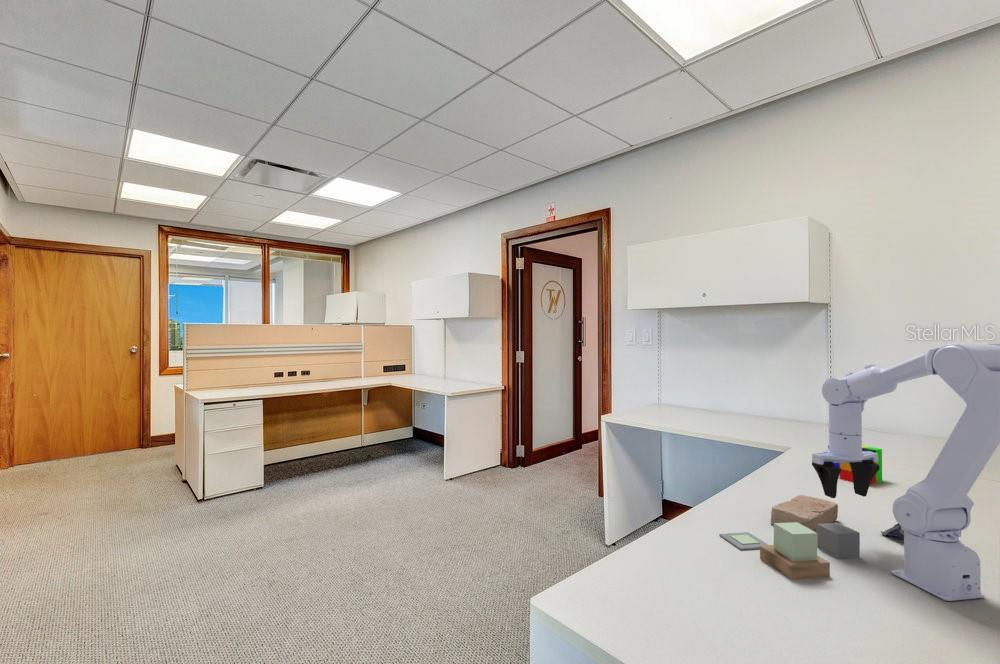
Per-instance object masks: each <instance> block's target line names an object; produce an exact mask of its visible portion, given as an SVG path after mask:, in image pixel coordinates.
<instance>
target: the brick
mask: <svg viewBox="0 0 1000 664" xmlns="http://www.w3.org/2000/svg"><path fill="white" fill-rule="evenodd" d="M838 512H839V504H837V503H836V502H834V501H831V500H828V499H824V498H818V497H814V496H813V497H812V496H808V495H804V494H798V495H796V496H795V497H793V498H791V499H790V500H787V501H784V502H780V503H778V504H776V505H774V506H772V508H771V511H770V513H771V515H770V516H771V517H770V523H771V525H772V526H774V523H793V522H797V523H799V524H801V525H803V526H805V527H807V528H809V529H811V530H812V531H814V532H817V524H825V523H835V521H837V519H838Z"/></svg>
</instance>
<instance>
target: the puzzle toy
mask: <svg viewBox="0 0 1000 664" xmlns="http://www.w3.org/2000/svg"><path fill="white" fill-rule="evenodd" d="M827 449H829V444H828V445H827ZM862 451H870V452H874V453H878V462H873V463H875V464H878V465H880V469H879V471H878V472H877V473H876V474H875V476H874V477H873V479H872V481H871V483H870V485H871V484H875V483H880V482H883V449H882V448H878V447H874V446H873V447H872V446H868V445H863V444H862ZM833 465H835V467H838V468H841V469H842V470H841V472H840V474H839V477H838V480H843V481H846V482H849V483H850V482H851V483H853V474H852V470H851V466H850V464H849V462H846V463H833Z"/></svg>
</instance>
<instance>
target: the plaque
mask: <svg viewBox="0 0 1000 664" xmlns="http://www.w3.org/2000/svg"><path fill="white" fill-rule="evenodd" d="M719 537H721V538H722V539H723V540H725V541H727V542H728V543H729V544H731V545H732V546H734V547H735V548H736V549H738V550H739V551H750V550H751V551H752V550H760V546H763V545H769V544H768V543H767V542H766V541H763V540H762V539H760V538H758V537H757V536H756V535H753V534H752V533H750V532H749V531H748V532H747V531H746V532H745V531H744V532H733V533H730V532H728V533H720V534H719Z"/></svg>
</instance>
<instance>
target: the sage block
mask: <svg viewBox="0 0 1000 664" xmlns="http://www.w3.org/2000/svg"><path fill="white" fill-rule="evenodd" d="M817 537H818V533H817V531H815V532H814V531H812V530H811V529H809V528H807V527H805V526H803V525H801V524H799V523H797V522H793V523H774V525H773V545H774V549H775V550H777V551H778V552H780V553H781V554H783V555H784V556H786V557H787V558H789V559H790V560H792V561H805V560H817V556H818V548H817Z"/></svg>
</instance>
